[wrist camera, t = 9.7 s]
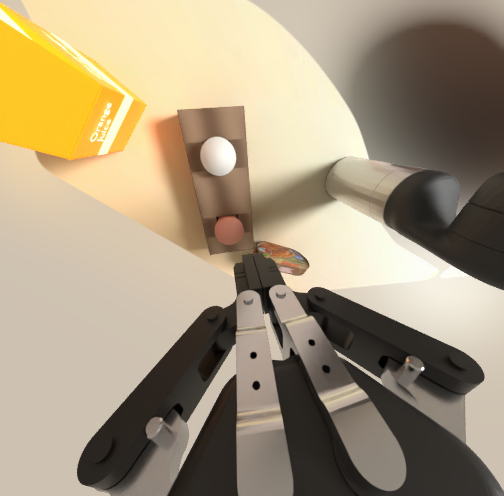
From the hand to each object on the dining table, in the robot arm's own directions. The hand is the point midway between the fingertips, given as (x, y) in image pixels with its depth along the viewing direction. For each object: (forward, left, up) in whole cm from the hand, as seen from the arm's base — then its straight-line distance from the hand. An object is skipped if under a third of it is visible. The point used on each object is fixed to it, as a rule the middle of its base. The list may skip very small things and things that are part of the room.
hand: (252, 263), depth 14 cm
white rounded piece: (+1, -5, -29) cm, 29 cm away
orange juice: (+17, -13, -30) cm, 36 cm away
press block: (+1, +1, -29) cm, 29 cm away
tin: (-11, +19, -30) cm, 37 cm away
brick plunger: (+1, +8, -28) cm, 29 cm away
